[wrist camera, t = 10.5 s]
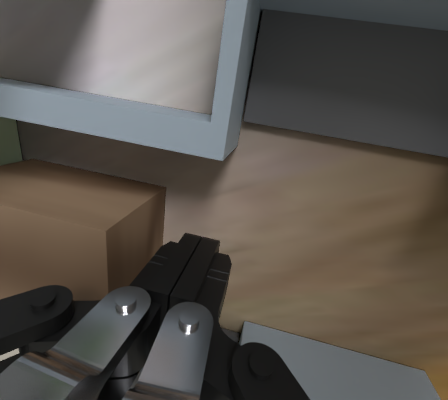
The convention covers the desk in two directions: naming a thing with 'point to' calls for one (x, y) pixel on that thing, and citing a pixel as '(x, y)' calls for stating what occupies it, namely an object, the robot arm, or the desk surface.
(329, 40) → the trap channel
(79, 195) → the walnut block
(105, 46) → the desk surface
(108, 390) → the robot arm
